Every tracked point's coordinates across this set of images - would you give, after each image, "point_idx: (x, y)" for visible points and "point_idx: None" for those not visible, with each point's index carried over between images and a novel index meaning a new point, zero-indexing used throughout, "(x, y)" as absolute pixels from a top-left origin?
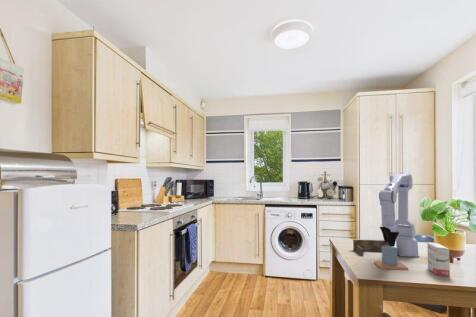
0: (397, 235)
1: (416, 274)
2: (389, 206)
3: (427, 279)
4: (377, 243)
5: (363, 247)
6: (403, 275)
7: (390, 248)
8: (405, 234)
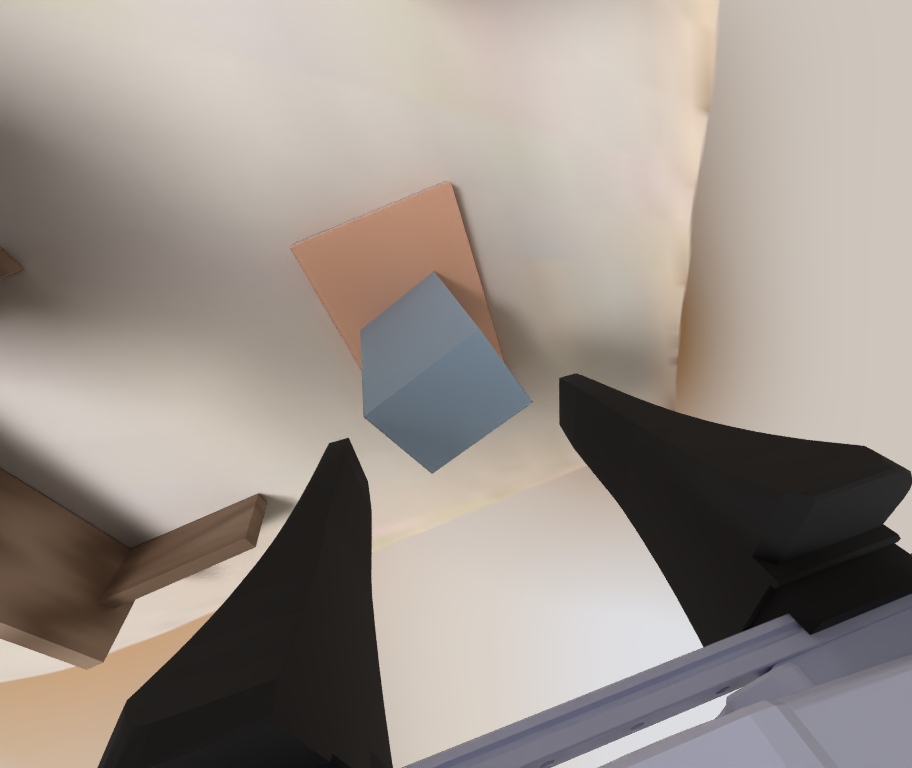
0: (790, 439)
1: (542, 122)
2: None
3: (637, 41)
4: None
5: (66, 549)
6: (589, 237)
7: (521, 392)
8: None
